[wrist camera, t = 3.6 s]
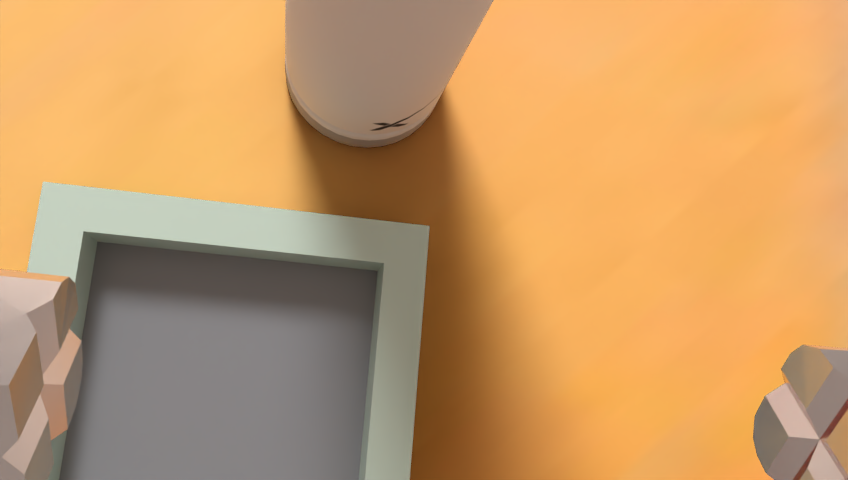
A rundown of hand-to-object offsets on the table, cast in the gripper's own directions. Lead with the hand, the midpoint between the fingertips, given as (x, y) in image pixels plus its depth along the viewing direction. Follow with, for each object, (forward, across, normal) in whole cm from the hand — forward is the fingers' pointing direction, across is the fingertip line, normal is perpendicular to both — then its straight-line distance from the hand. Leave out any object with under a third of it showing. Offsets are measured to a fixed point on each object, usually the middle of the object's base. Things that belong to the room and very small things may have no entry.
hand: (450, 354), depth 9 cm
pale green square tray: (+14, +4, +16) cm, 21 cm away
